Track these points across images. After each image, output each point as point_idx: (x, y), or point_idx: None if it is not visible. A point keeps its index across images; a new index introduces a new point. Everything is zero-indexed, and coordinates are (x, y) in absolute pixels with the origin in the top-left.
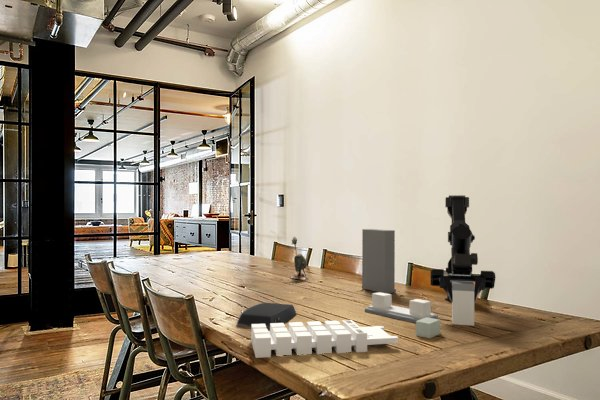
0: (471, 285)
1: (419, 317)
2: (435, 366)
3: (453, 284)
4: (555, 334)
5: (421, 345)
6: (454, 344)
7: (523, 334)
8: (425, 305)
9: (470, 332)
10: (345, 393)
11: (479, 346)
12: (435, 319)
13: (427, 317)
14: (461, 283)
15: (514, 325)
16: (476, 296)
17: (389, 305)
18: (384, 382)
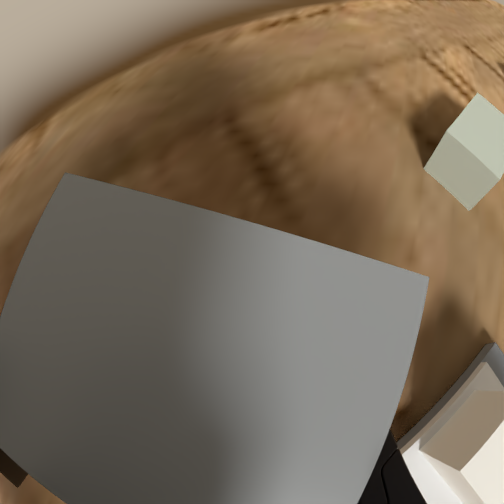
0: (101, 191)
1: (492, 372)
2: (428, 7)
3: (408, 277)
4: (10, 173)
5: (469, 82)
6: (386, 70)
7: (86, 161)
8: (496, 411)
9: (285, 179)
10: (501, 4)
11: (316, 51)
12: (464, 137)
13: (496, 175)
14: (228, 280)
15: None
16: None
17: None
18: (478, 3)
